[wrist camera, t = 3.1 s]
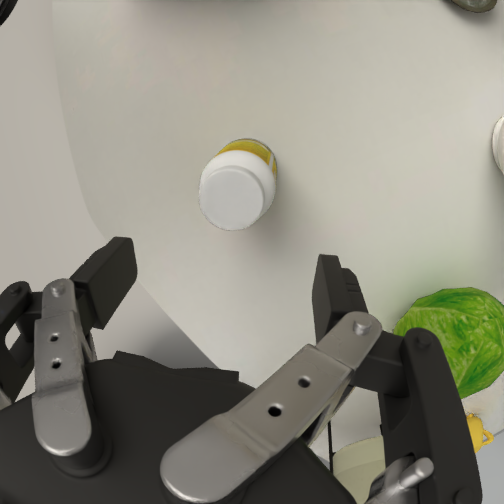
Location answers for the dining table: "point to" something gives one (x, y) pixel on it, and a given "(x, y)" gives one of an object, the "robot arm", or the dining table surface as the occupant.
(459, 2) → the lid
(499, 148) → the vase
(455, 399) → the robot arm
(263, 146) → the pill bottle
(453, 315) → the lettuce
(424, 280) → the dining table surface
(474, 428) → the teapot
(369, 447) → the planter
